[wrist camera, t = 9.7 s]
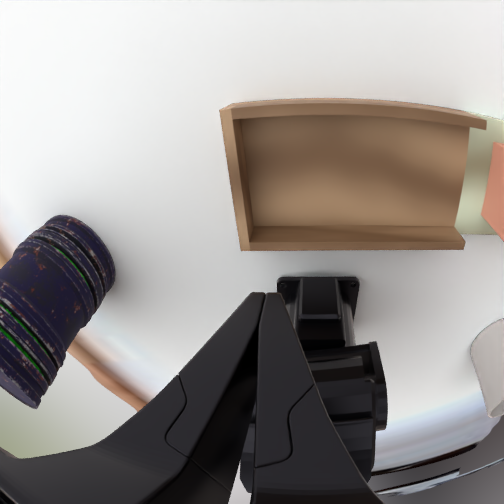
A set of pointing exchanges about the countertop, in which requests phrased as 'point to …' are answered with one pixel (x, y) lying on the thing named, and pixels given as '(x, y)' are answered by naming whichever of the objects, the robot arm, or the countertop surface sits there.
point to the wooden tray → (357, 174)
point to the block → (495, 191)
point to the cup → (490, 366)
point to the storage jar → (48, 302)
